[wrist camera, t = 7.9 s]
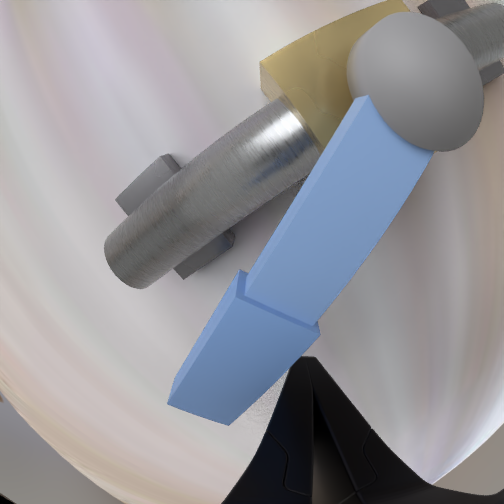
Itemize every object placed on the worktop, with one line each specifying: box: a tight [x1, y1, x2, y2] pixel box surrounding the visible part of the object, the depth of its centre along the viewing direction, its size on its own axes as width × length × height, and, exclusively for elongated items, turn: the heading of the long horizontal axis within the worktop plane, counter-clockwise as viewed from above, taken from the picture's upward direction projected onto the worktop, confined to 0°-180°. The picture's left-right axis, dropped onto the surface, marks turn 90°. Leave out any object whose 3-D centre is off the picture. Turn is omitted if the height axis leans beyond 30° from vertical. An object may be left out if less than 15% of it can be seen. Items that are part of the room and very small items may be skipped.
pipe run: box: [104, 0, 504, 289], centre depth 8 cm, size 22×5×6 cm, turn 126°
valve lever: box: [167, 12, 484, 426], centre depth 6 cm, size 12×3×1 cm, turn 152°
